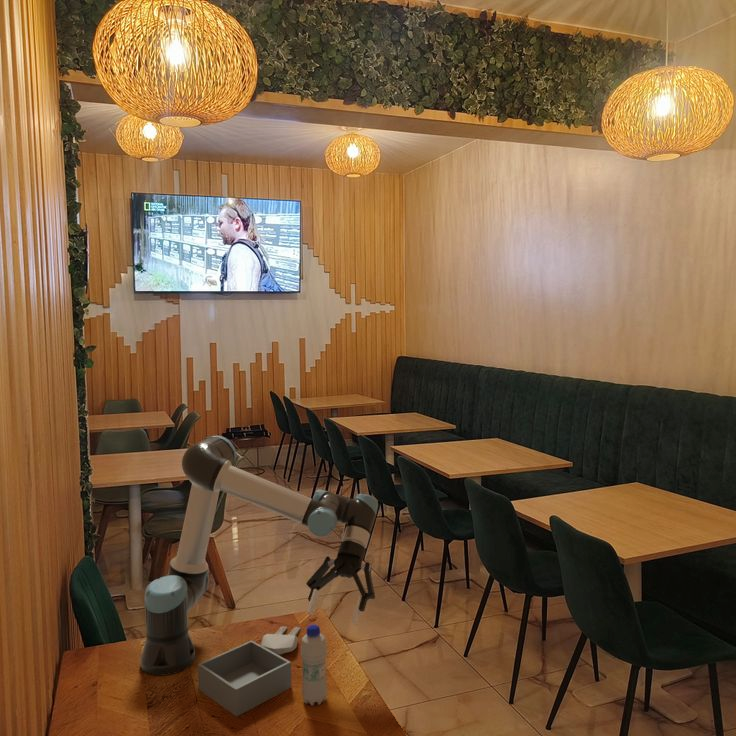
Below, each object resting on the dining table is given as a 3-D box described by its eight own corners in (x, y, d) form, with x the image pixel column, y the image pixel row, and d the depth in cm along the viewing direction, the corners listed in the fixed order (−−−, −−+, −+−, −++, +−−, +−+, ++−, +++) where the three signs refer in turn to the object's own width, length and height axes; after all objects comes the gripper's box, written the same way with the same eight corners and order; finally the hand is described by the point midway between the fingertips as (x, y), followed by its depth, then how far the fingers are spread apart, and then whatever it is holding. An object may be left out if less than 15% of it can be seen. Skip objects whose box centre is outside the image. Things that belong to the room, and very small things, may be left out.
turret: (306, 637, 204) (306, 622, 204) (290, 659, 184) (290, 642, 185) (276, 635, 205) (276, 620, 205) (257, 657, 185) (257, 641, 186)
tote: (198, 689, 171) (197, 664, 170) (252, 663, 183) (251, 640, 183) (236, 716, 159) (235, 689, 158) (291, 687, 171) (290, 662, 171)
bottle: (323, 709, 161) (322, 632, 160) (298, 706, 162) (296, 630, 161) (330, 694, 168) (329, 620, 166) (306, 691, 169) (304, 618, 168)
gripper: (397, 556, 182) (378, 631, 170) (319, 546, 192) (296, 615, 179) (390, 544, 177) (370, 620, 164) (311, 534, 187) (286, 605, 174)
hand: (331, 618), depth 172 cm, fingers open, 13 cm apart
